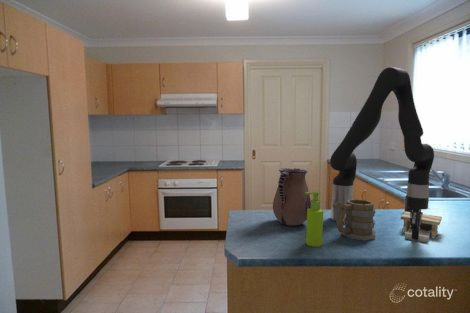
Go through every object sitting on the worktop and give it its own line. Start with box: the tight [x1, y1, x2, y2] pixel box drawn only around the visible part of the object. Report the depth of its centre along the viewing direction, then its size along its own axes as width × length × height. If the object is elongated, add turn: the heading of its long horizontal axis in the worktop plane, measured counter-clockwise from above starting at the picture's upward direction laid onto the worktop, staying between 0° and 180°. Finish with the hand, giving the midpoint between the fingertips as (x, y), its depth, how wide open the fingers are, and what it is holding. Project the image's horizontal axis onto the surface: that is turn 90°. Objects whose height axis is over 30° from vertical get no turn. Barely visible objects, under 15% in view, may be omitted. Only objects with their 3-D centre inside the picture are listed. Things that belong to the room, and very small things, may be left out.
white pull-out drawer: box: [404, 226, 432, 244], centre depth 135 cm, size 15×8×2 cm, turn 145°
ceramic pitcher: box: [272, 167, 311, 227], centre depth 148 cm, size 18×21×25 cm
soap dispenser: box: [305, 190, 324, 248], centre depth 123 cm, size 6×7×20 cm
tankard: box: [333, 198, 377, 241], centre depth 133 cm, size 20×13×15 cm, turn 110°
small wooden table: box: [400, 212, 443, 239], centre depth 140 cm, size 11×14×7 cm
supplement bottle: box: [404, 194, 412, 212], centre depth 172 cm, size 7×7×12 cm
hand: (415, 239), depth 128 cm, fingers closed
